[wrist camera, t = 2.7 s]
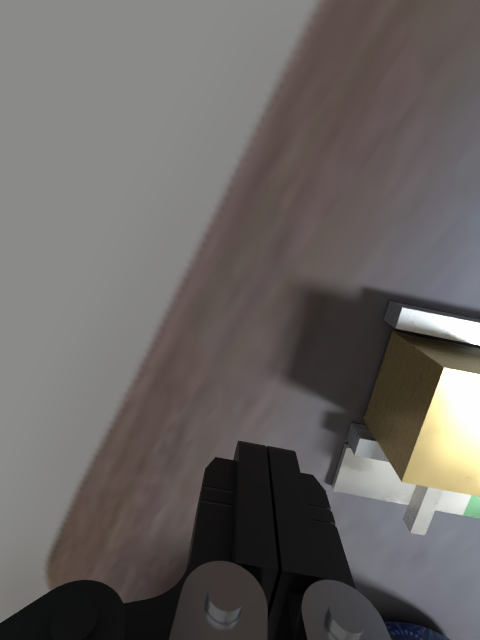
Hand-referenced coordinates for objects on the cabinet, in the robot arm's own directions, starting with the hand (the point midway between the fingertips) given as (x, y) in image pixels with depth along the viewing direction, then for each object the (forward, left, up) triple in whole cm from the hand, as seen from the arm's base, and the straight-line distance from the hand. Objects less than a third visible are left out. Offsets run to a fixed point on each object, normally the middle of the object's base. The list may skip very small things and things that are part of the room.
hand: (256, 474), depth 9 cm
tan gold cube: (+2, +9, -9) cm, 13 cm away
